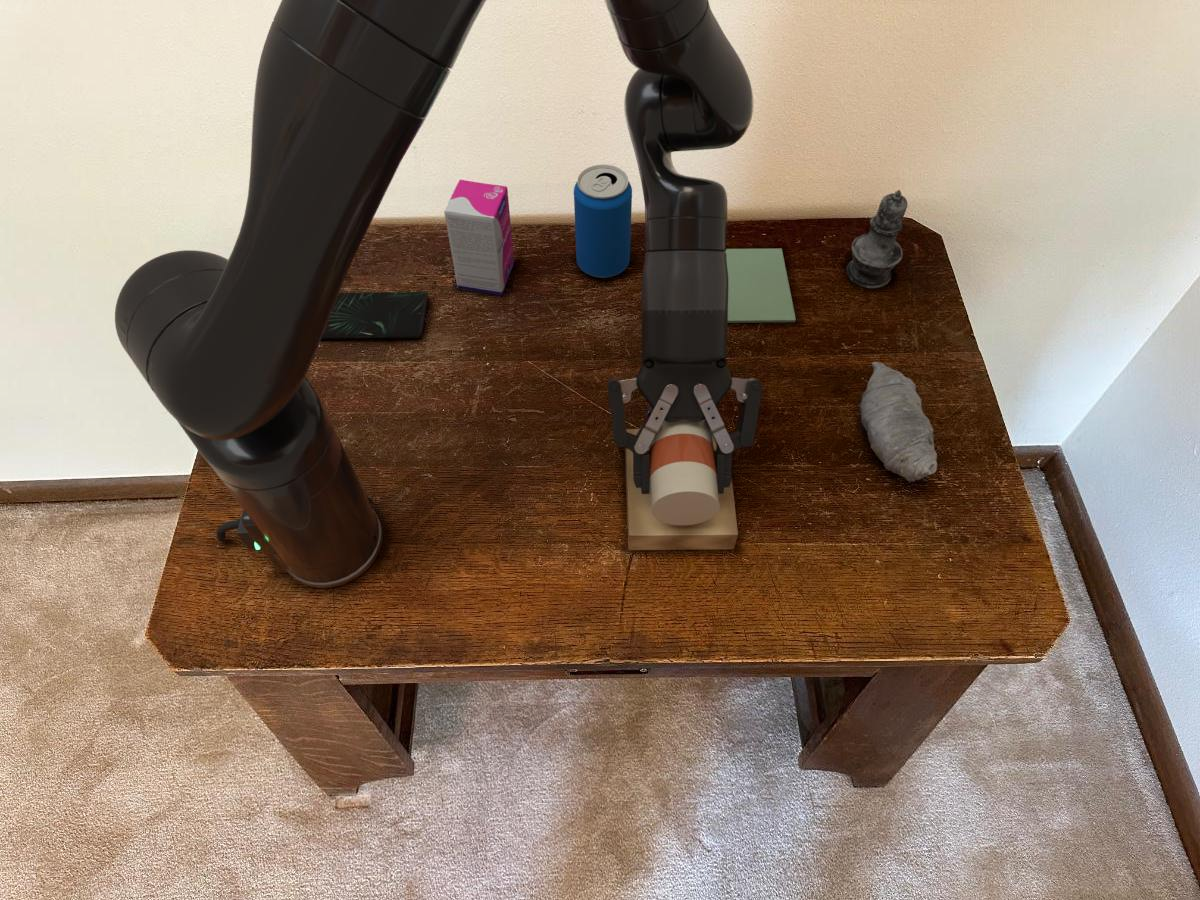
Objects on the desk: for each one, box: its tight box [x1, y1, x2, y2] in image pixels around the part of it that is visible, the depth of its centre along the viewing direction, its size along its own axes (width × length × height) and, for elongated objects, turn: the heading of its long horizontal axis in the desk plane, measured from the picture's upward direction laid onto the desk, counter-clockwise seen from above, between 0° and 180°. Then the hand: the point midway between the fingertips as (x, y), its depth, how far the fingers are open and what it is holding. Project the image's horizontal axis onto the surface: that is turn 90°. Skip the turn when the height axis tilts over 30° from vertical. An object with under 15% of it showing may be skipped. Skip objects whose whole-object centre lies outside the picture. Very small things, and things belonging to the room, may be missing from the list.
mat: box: [725, 247, 797, 324], centre depth 95 cm, size 12×12×1 cm
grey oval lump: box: [859, 361, 938, 482], centre depth 80 cm, size 6×14×8 cm, turn 5°
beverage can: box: [573, 164, 633, 279], centre depth 92 cm, size 6×6×12 cm
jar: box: [645, 404, 720, 525], centre depth 73 cm, size 6×11×6 cm, turn 0°
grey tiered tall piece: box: [845, 189, 909, 289], centre depth 91 cm, size 6×6×12 cm
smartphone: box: [321, 291, 429, 340], centre depth 91 cm, size 7×1×15 cm
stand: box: [624, 428, 739, 551], centre depth 77 cm, size 10×12×3 cm
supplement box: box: [443, 179, 515, 296], centre depth 91 cm, size 6×6×12 cm
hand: (681, 491), depth 73 cm, fingers closed on jar, 6 cm apart
